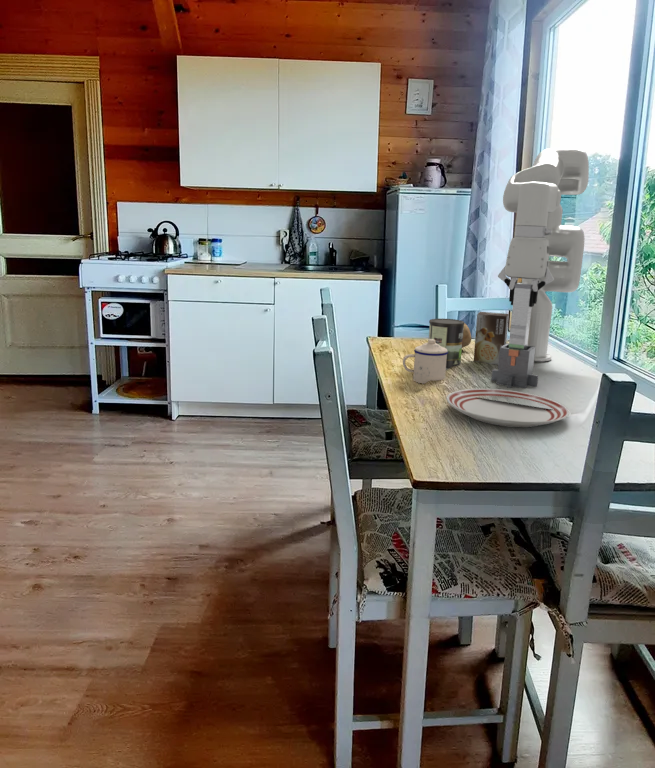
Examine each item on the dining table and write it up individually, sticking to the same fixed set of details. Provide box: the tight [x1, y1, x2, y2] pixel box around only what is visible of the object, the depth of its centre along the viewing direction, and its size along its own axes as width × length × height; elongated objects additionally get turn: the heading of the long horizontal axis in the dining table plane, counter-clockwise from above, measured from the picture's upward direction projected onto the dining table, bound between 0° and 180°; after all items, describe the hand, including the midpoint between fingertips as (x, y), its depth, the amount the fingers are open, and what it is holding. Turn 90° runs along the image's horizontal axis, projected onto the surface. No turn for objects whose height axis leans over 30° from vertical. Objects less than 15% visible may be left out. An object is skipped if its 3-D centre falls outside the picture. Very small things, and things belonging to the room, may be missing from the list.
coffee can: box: [428, 318, 465, 371], centre depth 193 cm, size 10×10×14 cm
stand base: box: [491, 342, 539, 389], centre depth 171 cm, size 12×12×11 cm
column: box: [508, 282, 533, 350], centre depth 168 cm, size 5×4×21 cm
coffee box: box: [473, 311, 510, 366], centre depth 197 cm, size 9×6×16 cm
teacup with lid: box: [402, 338, 448, 385], centre depth 175 cm, size 12×9×12 cm
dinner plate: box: [445, 388, 570, 428], centre depth 148 cm, size 27×27×3 cm
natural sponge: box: [462, 322, 472, 349], centre depth 220 cm, size 9×9×10 cm
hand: (522, 304), depth 167 cm, fingers closed on column, 4 cm apart
